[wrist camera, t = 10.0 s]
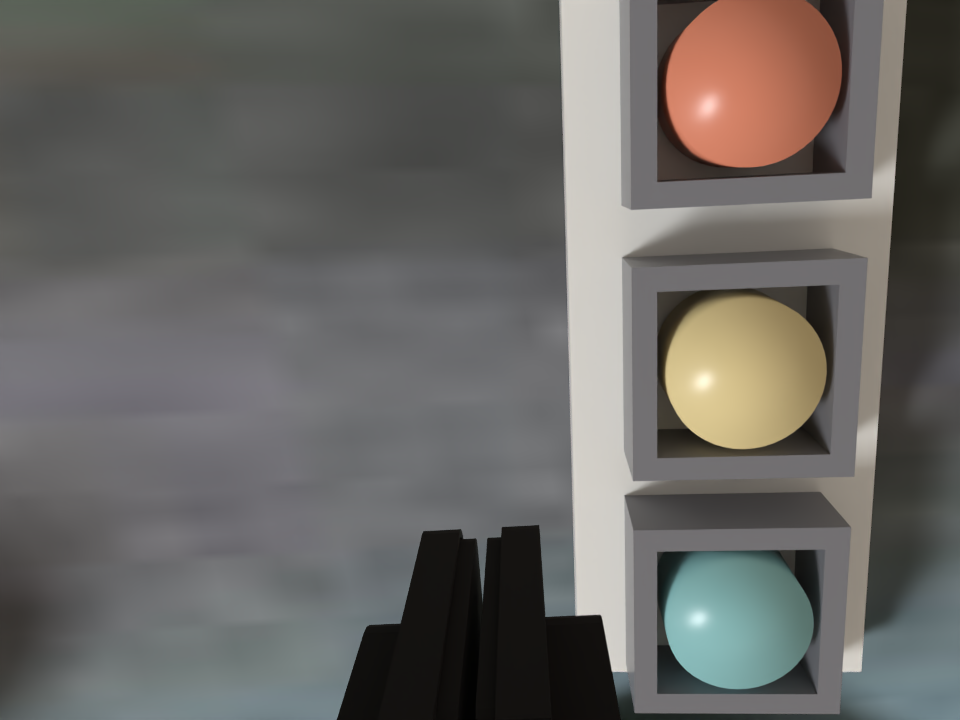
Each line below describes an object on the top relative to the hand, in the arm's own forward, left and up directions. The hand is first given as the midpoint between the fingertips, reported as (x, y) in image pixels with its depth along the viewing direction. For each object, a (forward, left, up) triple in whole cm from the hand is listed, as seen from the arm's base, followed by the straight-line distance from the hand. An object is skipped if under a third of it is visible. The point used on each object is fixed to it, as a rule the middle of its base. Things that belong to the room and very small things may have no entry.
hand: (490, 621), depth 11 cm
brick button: (-8, +7, -18) cm, 21 cm away
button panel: (+1, +7, -20) cm, 21 cm away
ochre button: (+1, +7, -18) cm, 19 cm away
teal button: (+10, +7, -18) cm, 22 cm away
